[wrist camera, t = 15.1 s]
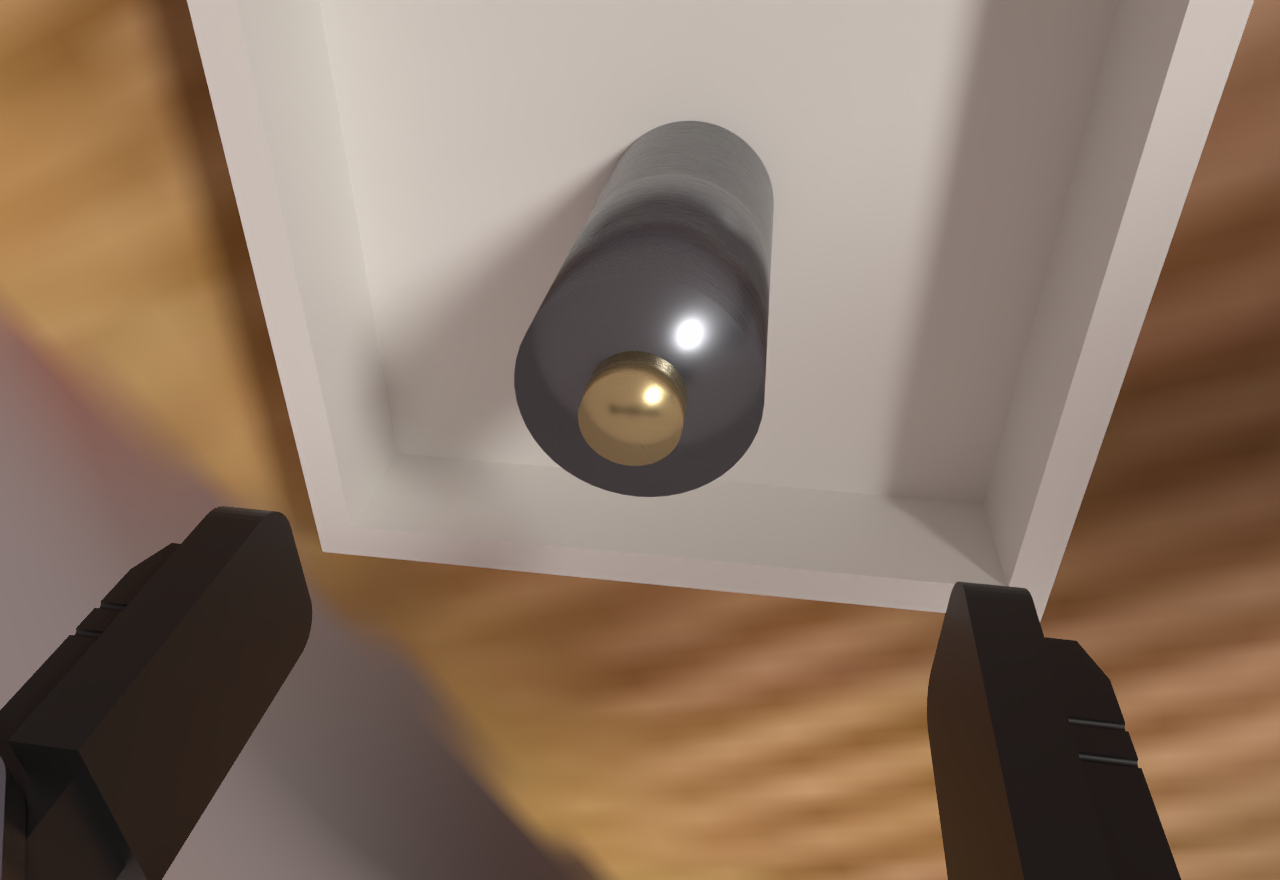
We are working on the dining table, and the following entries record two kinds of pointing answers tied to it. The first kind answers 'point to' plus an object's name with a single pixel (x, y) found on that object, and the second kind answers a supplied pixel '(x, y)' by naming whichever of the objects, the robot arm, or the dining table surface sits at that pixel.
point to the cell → (657, 320)
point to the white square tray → (799, 281)
